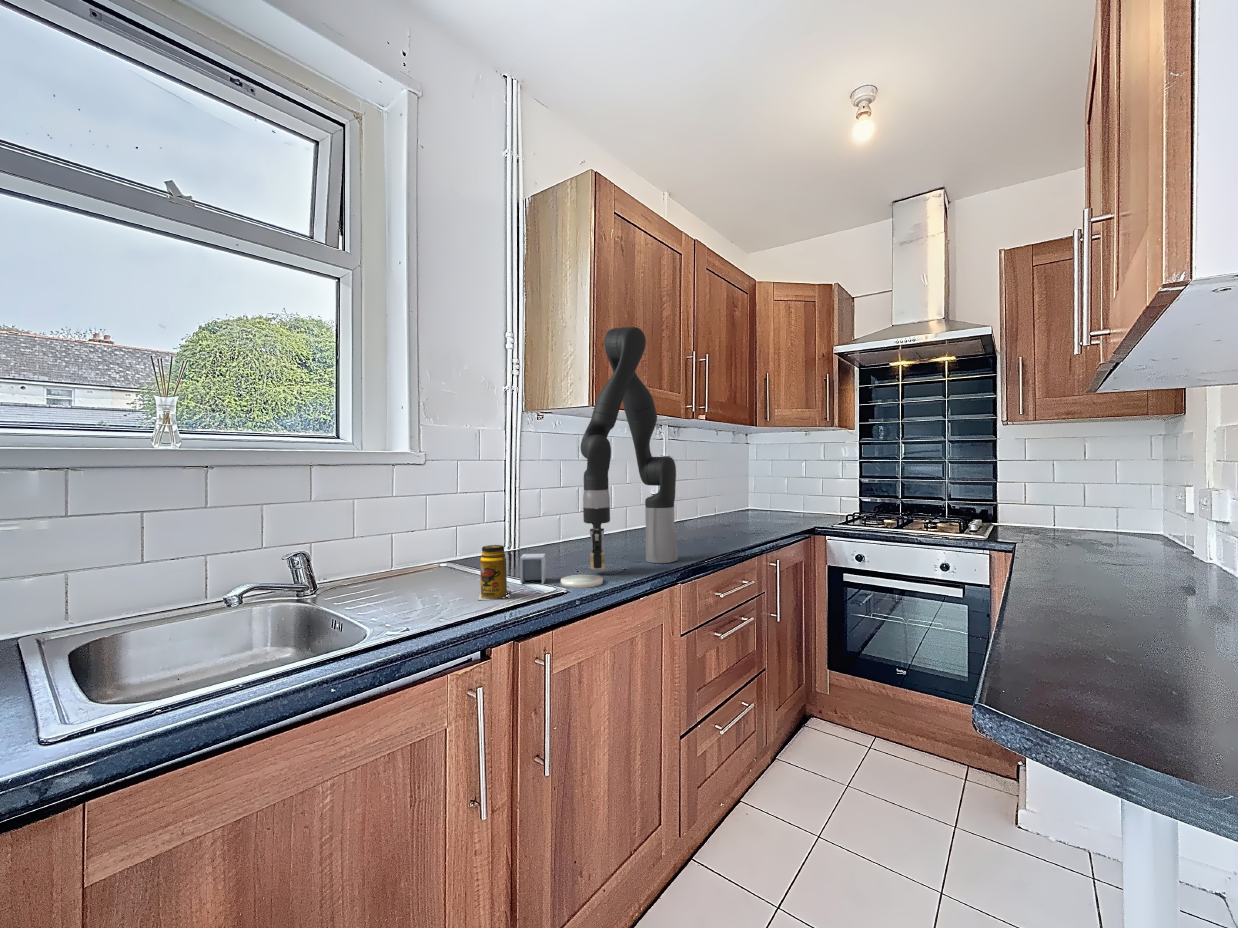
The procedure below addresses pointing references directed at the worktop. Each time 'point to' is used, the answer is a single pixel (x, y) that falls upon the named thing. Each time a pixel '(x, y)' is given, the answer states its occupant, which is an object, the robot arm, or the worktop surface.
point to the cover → (532, 567)
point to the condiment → (493, 573)
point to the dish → (581, 581)
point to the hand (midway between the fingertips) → (597, 565)
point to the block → (601, 561)
